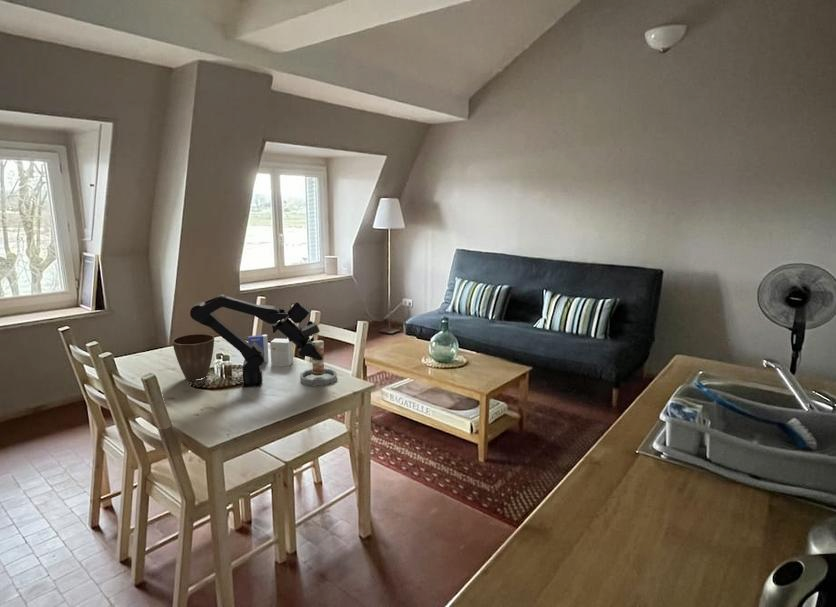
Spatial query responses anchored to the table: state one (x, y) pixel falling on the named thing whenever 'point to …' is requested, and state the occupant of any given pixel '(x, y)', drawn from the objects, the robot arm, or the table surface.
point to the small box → (281, 352)
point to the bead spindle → (317, 364)
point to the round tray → (318, 377)
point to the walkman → (260, 343)
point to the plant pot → (194, 354)
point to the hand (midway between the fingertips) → (321, 357)
